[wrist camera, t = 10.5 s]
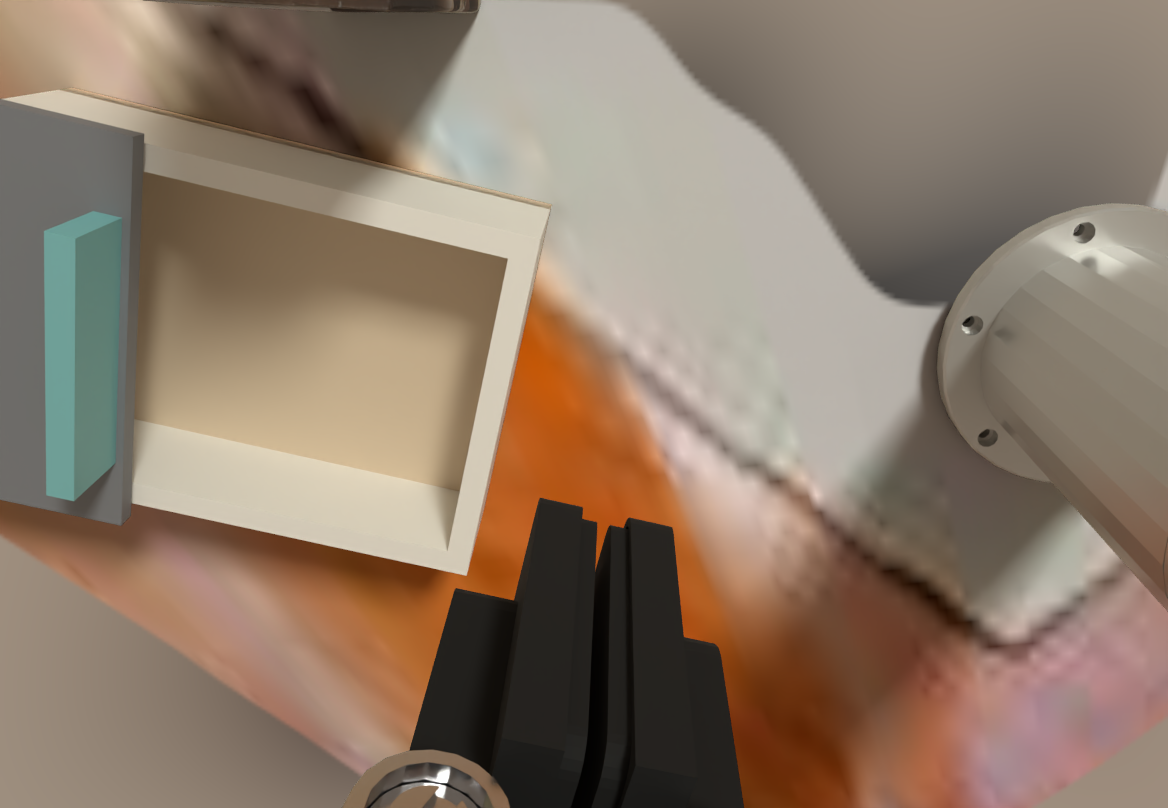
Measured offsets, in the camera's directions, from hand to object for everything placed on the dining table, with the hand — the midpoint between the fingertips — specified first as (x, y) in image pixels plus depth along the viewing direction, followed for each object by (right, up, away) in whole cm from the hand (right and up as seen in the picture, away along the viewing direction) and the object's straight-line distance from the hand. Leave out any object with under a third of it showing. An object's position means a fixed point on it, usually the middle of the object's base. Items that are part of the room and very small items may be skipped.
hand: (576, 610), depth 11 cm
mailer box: (-13, +7, +29) cm, 33 cm away
